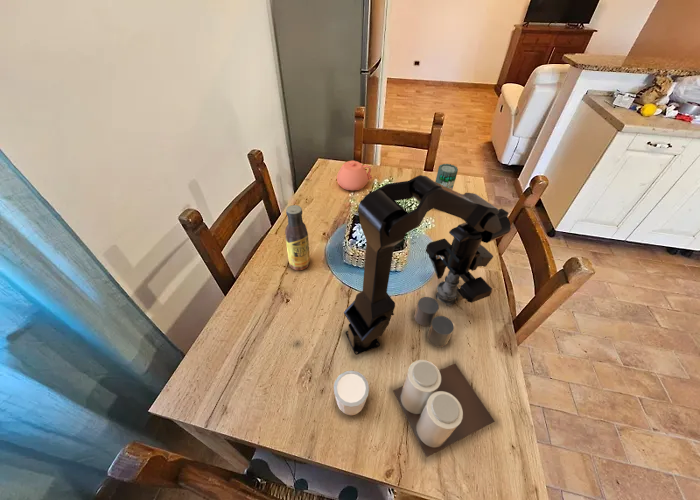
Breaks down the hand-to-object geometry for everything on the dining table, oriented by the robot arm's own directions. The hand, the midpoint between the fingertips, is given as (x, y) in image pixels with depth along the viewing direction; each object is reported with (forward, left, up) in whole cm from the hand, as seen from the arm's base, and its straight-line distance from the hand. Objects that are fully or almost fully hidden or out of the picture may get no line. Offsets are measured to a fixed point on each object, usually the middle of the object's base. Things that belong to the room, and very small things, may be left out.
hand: (448, 289), depth 81 cm
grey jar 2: (-9, -10, -4) cm, 14 cm away
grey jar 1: (-9, -4, -4) cm, 10 cm away
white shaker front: (-22, -26, -3) cm, 34 cm away
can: (+23, +37, -4) cm, 44 cm away
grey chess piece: (0, 0, -4) cm, 4 cm away
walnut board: (-17, -23, -4) cm, 29 cm away
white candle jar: (-34, -15, -4) cm, 37 cm away
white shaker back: (-22, -20, -3) cm, 29 cm away
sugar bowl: (-1, +61, -4) cm, 61 cm away
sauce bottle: (-33, +27, -4) cm, 43 cm away
